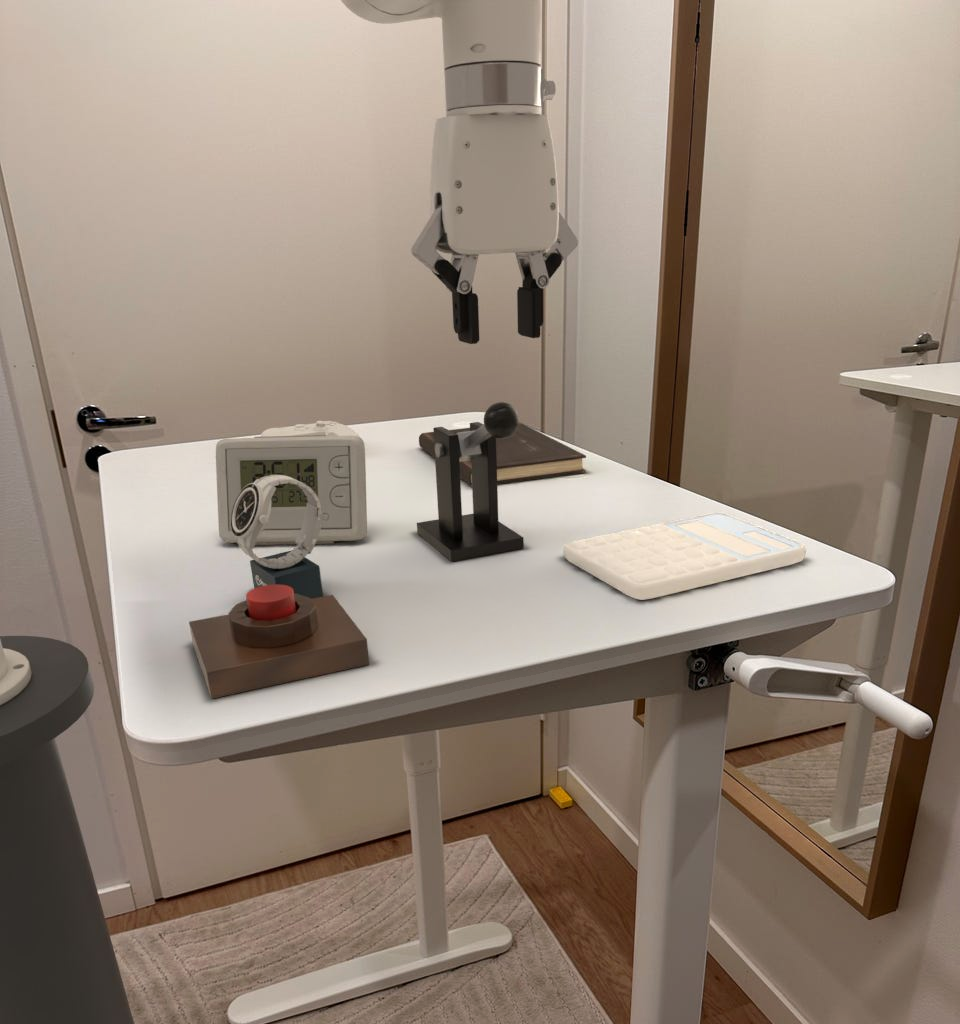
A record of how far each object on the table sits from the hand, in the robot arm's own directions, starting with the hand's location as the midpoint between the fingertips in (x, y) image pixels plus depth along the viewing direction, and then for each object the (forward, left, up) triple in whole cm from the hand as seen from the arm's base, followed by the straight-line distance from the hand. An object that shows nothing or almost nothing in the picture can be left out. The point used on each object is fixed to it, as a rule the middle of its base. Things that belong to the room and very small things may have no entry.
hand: (499, 337), depth 79 cm
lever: (0, +4, -11) cm, 11 cm away
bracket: (0, +9, -21) cm, 23 cm away
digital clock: (-16, +19, -22) cm, 33 cm away
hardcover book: (+17, +38, -22) cm, 47 cm away
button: (-24, -9, -18) cm, 31 cm away
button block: (-24, -9, -21) cm, 33 cm away
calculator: (+16, -6, -22) cm, 28 cm away
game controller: (-6, +55, -22) cm, 59 cm away
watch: (-21, +3, -22) cm, 30 cm away
